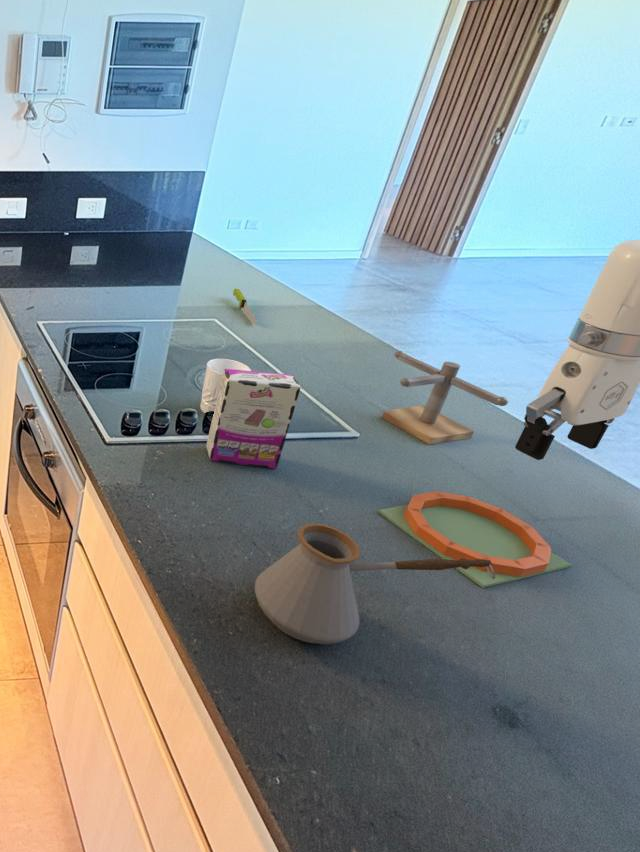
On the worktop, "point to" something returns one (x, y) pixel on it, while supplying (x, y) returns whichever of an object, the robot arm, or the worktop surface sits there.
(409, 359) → the ring stand
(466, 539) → the mat
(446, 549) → the ring
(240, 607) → the worktop surface
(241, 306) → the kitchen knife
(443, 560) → the coffee pot
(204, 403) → the white cup
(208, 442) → the candy bar box
